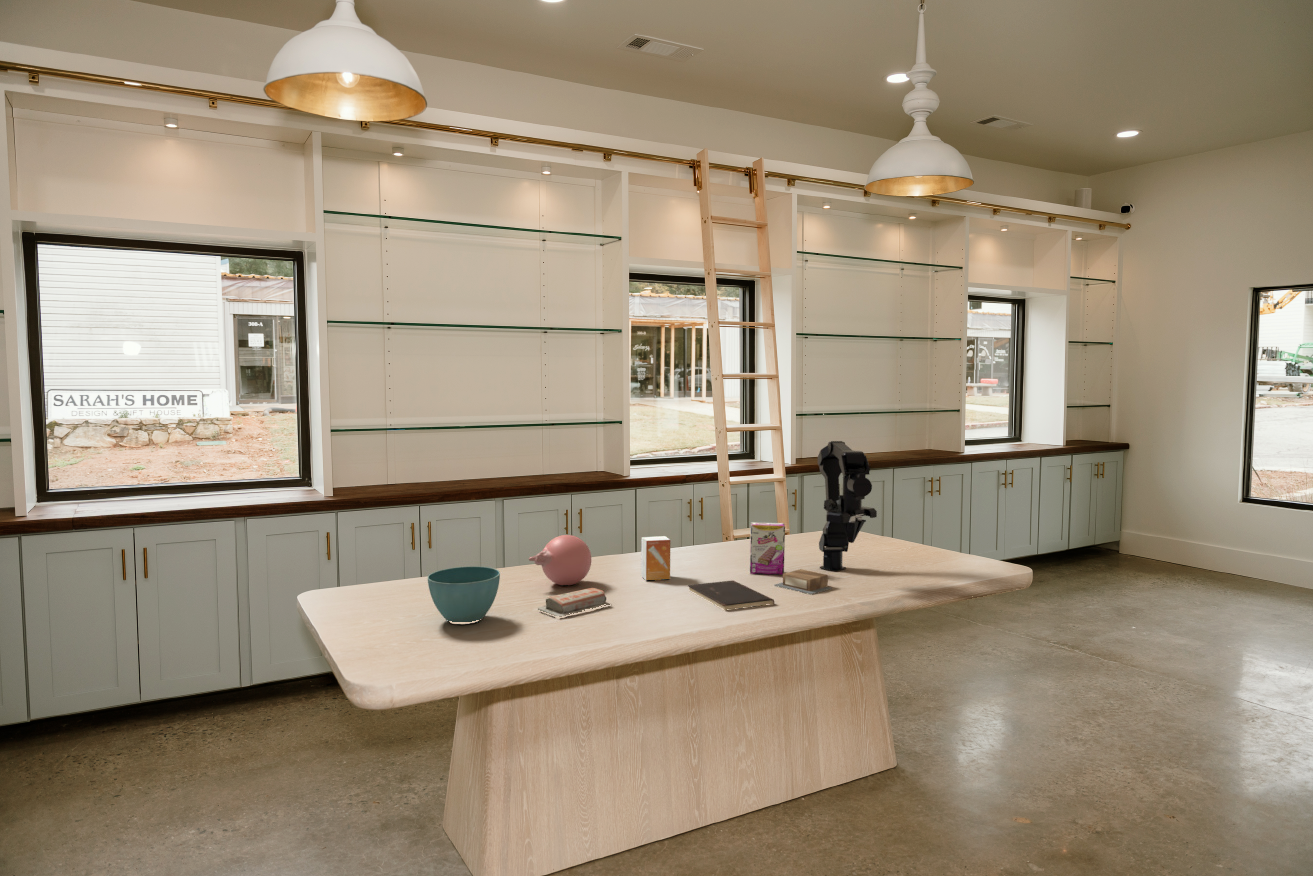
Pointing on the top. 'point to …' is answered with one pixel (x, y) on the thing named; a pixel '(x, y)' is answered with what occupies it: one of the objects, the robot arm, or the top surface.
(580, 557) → the balloon
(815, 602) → the top surface
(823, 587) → the grey rubber mat
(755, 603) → the hardcover book
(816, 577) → the walnut slab
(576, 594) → the packaged product
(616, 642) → the top surface
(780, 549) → the candy bar box
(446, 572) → the teal bowl
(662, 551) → the small box
